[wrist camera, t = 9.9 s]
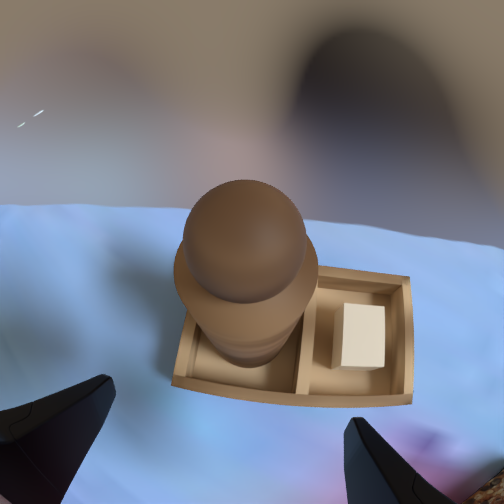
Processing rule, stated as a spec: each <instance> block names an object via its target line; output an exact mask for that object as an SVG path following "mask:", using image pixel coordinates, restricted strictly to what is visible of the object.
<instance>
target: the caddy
mask: <svg viewBox="0 0 504 504" xmlns="http://www.w3.org/2000/svg"><path fill="white" fill-rule="evenodd" d="M343 303H351V304H361V305H373V306H384V308H385V361H384V367H382V368H378V369H375V370H371V371H359V370H332V369H331V363H332V350H333V334H334V314H335V312H336V311H337V310H338V309H339V308H340V307H341V306H342V305H343ZM413 380H414V326H413V308H412V296H411V285H410V277H408V276H400V275H392V274H384V273H376V272H368V271H360V270H352V269H344V268H336V267H328V266H320V265H318V280H317V285H316V288H315V291H314V294H313V296H312V298H311V300H310V301H309V303H308V305H307V307H306V309H305V310H304V312H303V314H302V316H301V317H300V319H299V321H298V322H297V324H296V326H295V327H294V329H293V331H292V332H291V334H290V336H289V337H288V339H287V341H286V342H285V344H284V346H283V347H282V349H281V351H280V352H279V354H278V355H277V356H276V357H275V358H274V359H273V360H272V361H270V362H269V363H267V364H265V365H263V366H261V367H257V368H241V367H238V366H235V365H233V364H231V363H229V362H228V361H226V360H225V359H224V358H223V357H222V356H221V355H220V353H219V352H218V351H217V349H216V348H215V347H214V345H213V344H212V343H211V341H210V340H209V339H208V337H207V336H206V335H205V333H204V332H203V331H202V329H201V328H200V326H199V325H198V324H197V322H196V321H195V319H194V318H193V317H192V315H191V314H190V312H189V311H188V309H187V313H186V317H185V322H184V326H183V331H182V335H181V340H180V344H179V349H178V353H177V358H176V363H175V368H174V373H173V378H172V383H171V386H175V387H179V388H183V389H187V390H191V391H196V392H201V393H205V394H210V395H216V396H221V397H227V398H233V399H239V400H246V401H253V402H261V403H269V404H279V405H290V406H304V407H328V408H361V407H384V406H398V405H408V404H412V397H413Z"/></svg>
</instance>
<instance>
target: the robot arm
mask: <svg viewBox="0 0 504 504" xmlns="http://www.w3.org/2000/svg"><path fill="white" fill-rule="evenodd" d="M115 395H116V390H115V386H114V382H113V379H112V377H110V376H108V375H105V374H101V375H98V376H96V377H93V378H91V379H89V380H86V381H84V382H81V383H79V384H77V385H74V386H72V387H69V388H67V389H64V390H62V391H59V392H57V393H54V394H51V395H49V396H46V397H44V398H41V399H38V400H36V401H34V402H30V403H27V404H24V405H21V406H18V407H15V408H11V409H7V410H3V411H0V504H61V502H62V500H63V498H64V495H65V493H66V492H67V490H68V488H69V486H70V484H71V482H72V480H73V478H74V476H75V474H76V473H77V471H78V469H79V467H80V465H81V463H82V462H83V460H84V458H85V456H86V454H87V453H88V451H89V449H90V447H91V445H92V444H93V442H94V440H95V438H96V437H97V435H98V433H99V431H100V430H101V428H102V426H103V424H104V422H105V419H106V417H107V415H108V412H109V410H110V408H111V405H112V403H113V401H114V398H115ZM344 473H345V481H346V490H347V499H348V504H457V503H455V502H454V501H452V500H451V499H449V498H448V497H447V496H445V495H444V494H442V493H441V492H440V491H438V490H437V489H436V488H434V487H433V486H432V485H431V484H429V483H428V482H427V481H426V480H425V479H424V478H423V477H422V476H421V475H420V474H419V473H418V472H416V471H415V470H414V469H413V468H412V467H411V466H410V465H409V464H408V463H407V462H406V461H405V460H404V459H403V458H402V457H401V456H400V455H399V454H398V453H397V452H396V451H395V450H394V449H393V448H392V447H391V446H390V445H389V444H388V443H387V442H386V441H385V440H384V438H383V437H382V436H381V435H380V434H379V433H378V432H377V431H376V430H375V429H374V428H373V427H372V426H371V425H370V424H369V423H368V422H367V421H366V420H365V419H364V418H363V417H353V418H351V420H350V422H349V423H348V425H347V427H346V429H345V431H344Z"/></svg>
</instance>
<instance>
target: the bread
mask: <svg viewBox="0 0 504 504" xmlns="http://www.w3.org/2000/svg"><path fill="white" fill-rule="evenodd" d="M462 504H504V470H503V471H501V472H500V473H499V474H498V475H496V476H495V477H494V478H493V479H491V480H490V481H489V482H487V483H486V484H485V485H484V486H483V487H482V488H480V489H479V490H478V491H477V492H476V493H475V494H473V495H472V496H471V497H469V498H468V499H467V500H466V501H464V502H463V503H462Z"/></svg>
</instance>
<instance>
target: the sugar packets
mask: <svg viewBox="0 0 504 504" xmlns="http://www.w3.org/2000/svg"><path fill="white" fill-rule="evenodd" d="M384 361H385V308H384V306H373V305H361V304H351V303H343V305H342V306H341V307H340V308H339V309H338V310H337V311H336V312H335V314H334V334H333V350H332V363H331V369H332V370H359V371H371V370H375V369H378V368H382V367H384Z"/></svg>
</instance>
